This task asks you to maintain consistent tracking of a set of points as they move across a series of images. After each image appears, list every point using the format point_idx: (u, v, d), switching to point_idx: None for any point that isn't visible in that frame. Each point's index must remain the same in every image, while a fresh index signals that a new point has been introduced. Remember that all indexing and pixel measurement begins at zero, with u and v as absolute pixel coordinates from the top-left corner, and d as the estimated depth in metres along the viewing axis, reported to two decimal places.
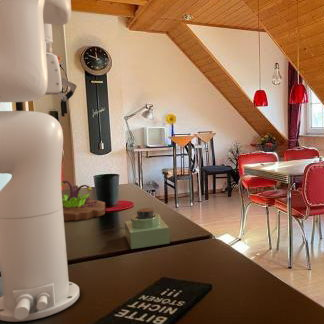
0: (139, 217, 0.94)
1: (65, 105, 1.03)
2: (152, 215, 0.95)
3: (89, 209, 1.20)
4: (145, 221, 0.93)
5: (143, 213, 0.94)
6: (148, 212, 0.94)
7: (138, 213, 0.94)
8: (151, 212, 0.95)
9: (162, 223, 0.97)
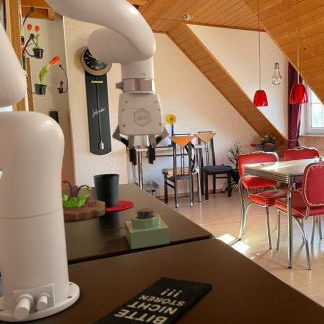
0: (139, 217, 0.94)
1: (154, 152, 0.95)
2: (152, 215, 0.95)
3: (89, 209, 1.20)
4: (145, 221, 0.93)
5: (143, 213, 0.94)
6: (148, 212, 0.94)
7: (138, 213, 0.94)
8: (151, 212, 0.95)
9: (162, 223, 0.97)
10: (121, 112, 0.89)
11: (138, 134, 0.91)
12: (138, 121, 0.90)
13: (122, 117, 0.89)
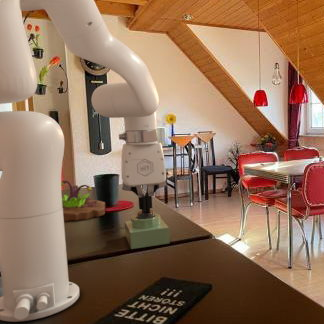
0: None
1: (150, 200, 0.96)
2: (152, 217, 0.95)
3: (89, 209, 1.20)
4: (145, 221, 0.93)
5: (143, 215, 0.94)
6: (148, 214, 0.94)
7: (138, 215, 0.95)
8: (151, 214, 0.95)
9: (162, 223, 0.97)
10: (125, 163, 0.90)
11: (141, 184, 0.92)
12: (141, 171, 0.92)
13: (125, 168, 0.91)
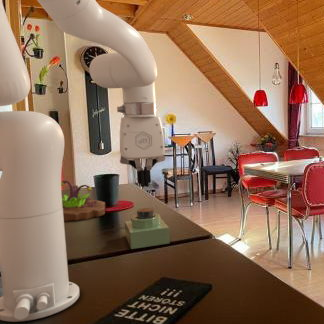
0: (139, 217, 0.94)
1: (149, 174, 0.95)
2: (152, 215, 0.95)
3: (89, 209, 1.20)
4: (145, 221, 0.93)
5: (143, 213, 0.94)
6: (148, 212, 0.94)
7: (138, 213, 0.94)
8: (151, 212, 0.95)
9: (162, 223, 0.97)
10: (123, 136, 0.90)
11: (140, 157, 0.92)
12: (140, 144, 0.91)
13: (124, 141, 0.90)
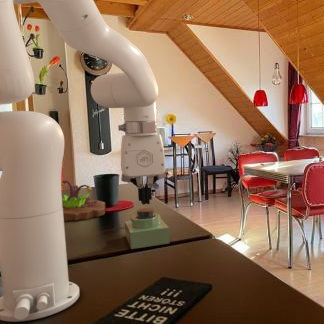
0: (139, 217, 0.94)
1: (150, 191, 0.95)
2: (152, 215, 0.95)
3: (89, 209, 1.20)
4: (145, 221, 0.93)
5: (143, 213, 0.94)
6: (148, 212, 0.94)
7: (138, 213, 0.94)
8: (151, 212, 0.95)
9: (162, 223, 0.97)
10: (124, 154, 0.90)
11: (141, 175, 0.92)
12: (141, 162, 0.92)
13: (125, 159, 0.90)
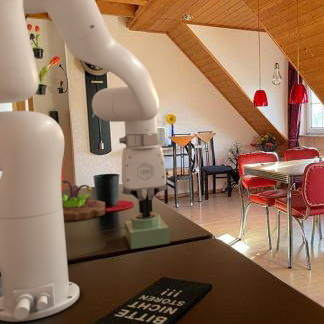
0: None
1: (151, 203, 0.96)
2: None
3: (89, 209, 1.20)
4: (145, 221, 0.93)
5: None
6: None
7: None
8: (151, 217, 0.95)
9: (162, 223, 0.97)
10: (125, 167, 0.91)
11: (141, 188, 0.93)
12: (141, 175, 0.92)
13: (126, 172, 0.91)
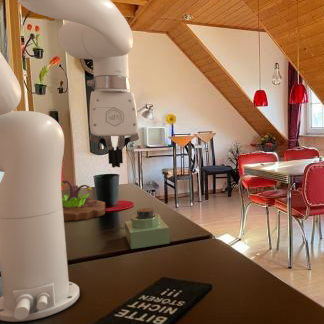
0: (139, 217, 0.94)
1: (121, 154, 0.89)
2: (152, 215, 0.95)
3: (89, 209, 1.20)
4: (145, 221, 0.93)
5: (143, 213, 0.94)
6: (148, 212, 0.94)
7: (138, 213, 0.94)
8: (151, 212, 0.95)
9: (162, 223, 0.97)
10: (92, 111, 0.84)
11: (110, 134, 0.86)
12: (110, 121, 0.85)
13: (93, 116, 0.84)
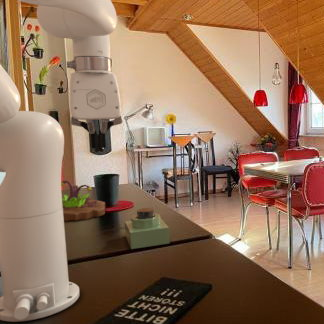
0: (139, 217, 0.94)
1: (104, 138, 0.86)
2: (152, 215, 0.95)
3: (89, 209, 1.20)
4: (145, 221, 0.93)
5: (143, 213, 0.94)
6: (148, 212, 0.94)
7: (138, 213, 0.94)
8: (151, 212, 0.95)
9: (162, 223, 0.97)
10: (72, 93, 0.81)
11: (92, 118, 0.83)
12: (92, 103, 0.82)
13: (73, 99, 0.81)
